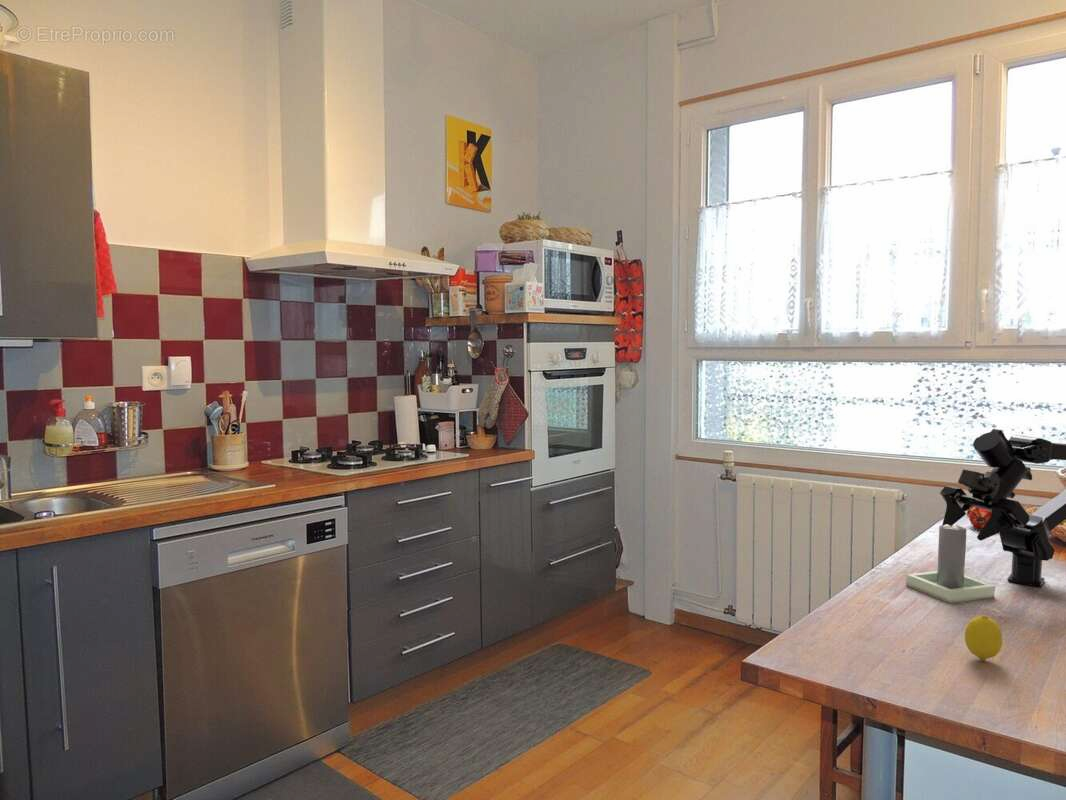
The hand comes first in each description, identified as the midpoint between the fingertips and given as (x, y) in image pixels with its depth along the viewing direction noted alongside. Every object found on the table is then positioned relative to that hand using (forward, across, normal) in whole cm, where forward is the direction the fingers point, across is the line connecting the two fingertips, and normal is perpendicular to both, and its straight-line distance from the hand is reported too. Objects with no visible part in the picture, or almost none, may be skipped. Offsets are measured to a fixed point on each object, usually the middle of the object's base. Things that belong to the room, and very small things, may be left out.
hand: (960, 533), depth 165 cm
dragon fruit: (-28, -40, +46) cm, 67 cm away
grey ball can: (+10, 0, +7) cm, 12 cm away
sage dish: (+11, 0, +7) cm, 13 cm away
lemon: (+28, +30, -10) cm, 42 cm away
